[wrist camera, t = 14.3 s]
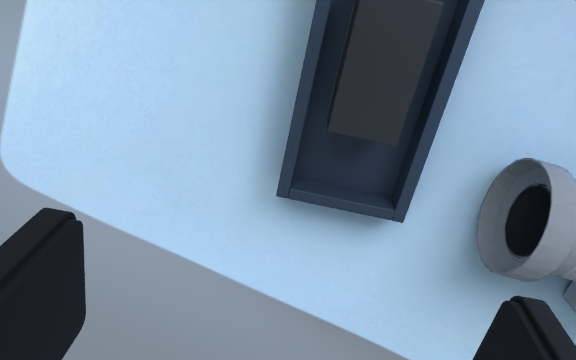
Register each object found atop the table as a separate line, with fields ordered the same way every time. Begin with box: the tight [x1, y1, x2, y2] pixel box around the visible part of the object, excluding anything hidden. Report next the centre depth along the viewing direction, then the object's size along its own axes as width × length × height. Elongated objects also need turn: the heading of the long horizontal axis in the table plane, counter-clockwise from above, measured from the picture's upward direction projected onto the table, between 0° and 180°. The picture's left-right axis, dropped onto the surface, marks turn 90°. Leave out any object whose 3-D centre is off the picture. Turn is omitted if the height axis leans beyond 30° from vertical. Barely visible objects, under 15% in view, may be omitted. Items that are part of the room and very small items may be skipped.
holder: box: [276, 0, 484, 223], centre depth 27 cm, size 9×20×2 cm, turn 169°
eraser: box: [327, 0, 443, 146], centre depth 26 cm, size 4×8×4 cm, turn 169°
